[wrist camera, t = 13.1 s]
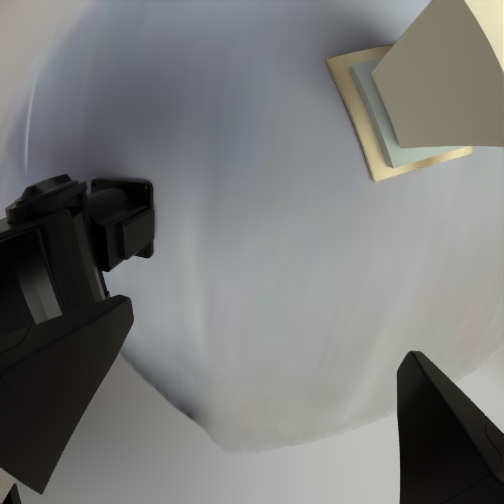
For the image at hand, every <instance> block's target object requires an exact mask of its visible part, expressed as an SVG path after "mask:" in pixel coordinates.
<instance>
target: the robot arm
mask: <svg viewBox="0 0 504 504" xmlns="http://www.w3.org/2000/svg"><path fill="white" fill-rule="evenodd" d="M96 183H97V186H96ZM145 186H146V187H147V188H148V191H146V190H145ZM86 189H87V184H86V181H83V182H78V180H77V181H73V180H71V179H70V177H69V176H68V175H67V174H63V175H59V176H56V177H52V178H49V179H46V180H43V181H40V182H38V183H36V184H33V185H31V186H29V187H27V188H26V189H25V191H24V193H23V194H22V196H21V197H20V198H19V199H17V200H16V201H15V202H14V203H12V204H11V205H9V206H8V207H7V208H6V209H5V211H6V216H7V217H6V218H4V219H1V220H0V504H21V501H20V497H19V493H18V489H17V485H16V484H15V481H16V479H17V480H19V481H20V482H21V483H23V484H25V485H26V486H28V487H29V488H31V489H32V490H34V491H36V492H37V493H39V494H41V495H42V494H43V492H44V490H45V488H46V486H47V483H48V481H49V479H50V477H51V475H52V473H53V471H54V469H55V467H56V465H57V463H58V461H59V459H60V457H61V455H62V452H63V451H64V449H65V447H66V445H67V443H68V441H69V439H70V437H71V435H72V434H73V432H74V430H75V428H76V426H77V424H78V422H79V421H80V419H81V417H82V415H83V413H84V412H85V410H86V408H87V406H88V404H89V403H90V401H91V399H92V398H93V396H94V394H95V393H96V391H97V389H98V387H99V386H100V384H101V382H102V381H103V379H104V377H105V376H106V374H107V373H108V371H109V369H110V367H111V366H112V364H113V363H114V361H115V359H116V357H117V355H118V353H119V351H120V349H121V347H122V345H123V343H124V341H125V339H126V337H127V335H128V333H129V331H130V329H131V327H132V324H133V321H134V315H133V309H132V302H131V299H130V298H129V297H126V296H123V295H116V296H113V297H110V293H109V291H107V288H106V284H105V281H104V277H103V273H102V271H105V272H109V271H111V270H112V269H113V268H114V267H116V266H117V265H118V264H120V263H121V262H122V261H123V260H128V259H129V258H131V257H132V256H133V255H134V256H139V257H143V258H150V257H151V256H152V255H153V240H154V210H153V186H152V184H151V183H149V182H141V181H129V180H116V179H100V178H97V179H93V180H92V182H91V194H88V195H86ZM146 250H147V251H148V252H149V254H148V253H147V252H146ZM397 417H398V430H399V446H400V504H504V433H502V432H501V431H500V430H499V429H498V428H497V426H495V425H494V423H493V422H492V421H491V420H490V419H489V418H488V417H487V416H485V414H484V413H483V412H482V411H481V410H480V409H479V408H478V407H477V406H476V405H475V404H474V403H473V402H472V401H471V400H470V399H469V398H468V397H467V396H466V395H465V394H464V393H463V392H462V391H461V390H460V389H459V388H458V387H457V386H456V385H455V384H454V383H453V382H452V381H451V380H450V379H449V378H448V377H447V376H446V375H445V374H444V373H443V372H442V371H441V370H440V369H439V368H438V367H437V366H436V365H435V364H434V363H433V362H432V361H430V360H429V359H428V358H427V357H426V356H425V355H424V354H423V353H422V352H420V351H409V352H408V353H407V355H406V356H405V358H404V360H403V361H402V363H401V365H400V366H399V368H398V371H397Z"/></svg>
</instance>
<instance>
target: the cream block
mask: <svg viewBox="0 0 504 504" xmlns="http://www.w3.org/2000/svg"><path fill="white" fill-rule="evenodd" d="M371 76H372V78H373V80H374V82H375V84H376V87H377V89H378V91H379V93H380V96H381V98H382V100H383V103H384V105H385V107H386V110H387V112H388V115H389V118H390V120H391V123H392V125H393V128H394V131H395V134H396V137H397V139H398V142H399V145H400V148H401V149H403V148H418V147H440V146H497V147H504V0H432V1H431V2H430V3H429V4H428V5H427V7H426V8H425V9H424V10H423V11H422V12H421V14H420V15H419V16H418V17H417V18H416V20H415V21H414V22H413V23H412V24H411V25H410V27H409V28H408V29H407V30H406V31H405V33H404V34H403V35H402V36H401V37H400V39H399V40H398V41H397V42H396V43H395V45H394V46H393V47H392V48H391V49H390V51H389V52H388V53H387V54H386V55H385V57H384V58H383V59H382V60H381V61H380V63H379V64H378V65H377V66H376V68H375V69H374V70H373V71H372V72H371Z"/></svg>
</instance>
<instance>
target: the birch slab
mask: <svg viewBox="0 0 504 504" xmlns="http://www.w3.org/2000/svg"><path fill="white" fill-rule="evenodd" d="M393 46H394V45H389V46H383V47H377V48H372V49H367V50H362V51H357V52H353V53H348V54H344V55H340V56H336V57H333V58H329V59H326V63H327V65H328V67H329V69H330V71H331V73H332V75H333V78H334V80H335V82H336V84H337V86H338V88H339V91H340V93H341V95H342V97H343V100H344V102H345V104H346V107H347V109H348V112H349V114H350V117H351V119H352V122H353V124H354V127H355V129H356V132H357V135H358V137H359V140H360V143H361V146H362V149H363V152H364V155H365V157H366V160H367V164H368V167H369V170H370V173H371V176H372V179H373V181H374V182H376V181H380V180H383V179H386V178H389V177H393V176H396V175H399V174H402V173H406V172H409V171H412V170H416V169H419V168H422V167H426V166H429V165H433V164H436V163H440V162H443V161H447V160H450V159H454V158H457V157H461V156H464V155H468V154H472V153H473V148H472V146H467V147H464V148H460V149H457V150H453V151H450V152H446V153H443V154H440V155H436V156H433V157H430V158H426V159H423V160H420V161H417V162H413V163H410V164H407V165H404V166H401V167H397V168H394V169H393V168H390V167H387V165H386V162H385V159H384V156H383V153H382V150H381V147H380V144H379V142H378V139H377V136H376V133H375V131H374V128H373V125H372V123H371V120H370V118H369V115H368V113H367V110H366V108H365V106H364V103H363V101H362V99H361V96H360V94H359V92H358V90H357V88H356V85H355V83H354V81H353V79H352V77H351V75H350V73H349V71H348V70H349V69H350V67H351V66H352V65H354V64H358V63H362V62H366V61H370V60H375V59H379V58H384V57H385V55H386V54H387V53H388V52H389V51H390V49H391V48H392V47H393Z"/></svg>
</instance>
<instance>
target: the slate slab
mask: <svg viewBox="0 0 504 504" xmlns="http://www.w3.org/2000/svg"><path fill="white" fill-rule="evenodd" d="M382 59H383V58H379V59H375V60H370V61H366V62H362V63H358V64H354V65H352V66H351V67H350V69H349V70H348V71H349V73H350V75H351V77H352V79H353V81H354V83H355V85H356V88H357V90H358V92H359V94H360V96H361V99H362V101H363V103H364V106H365V108H366V110H367V113H368V115H369V118H370V120H371V123H372V125H373V128H374V131H375V133H376V136H377V139H378V142H379V144H380V147H381V150H382V153H383V156H384V159H385V162H386V165H387V167H390V168H393V169H394V168H397V167H401V166H404V165H407V164H410V163H413V162H417V161H420V160H423V159H426V158H430V157H433V156H436V155H440V154H443V153H446V152H450V151H453V150H457V149H460V148H464V147H467V146H440V147H418V148H403V149H401V148H400V145H399V142H398V139H397V137H396V134H395V131H394V128H393V125H392V123H391V120H390V118H389V115H388V112H387V110H386V107H385V105H384V103H383V100H382V98H381V96H380V93H379V91H378V89H377V87H376V84H375V82H374V80H373V78H372V76H371V72H372V71H373V70H374V69H375V68H376V66H377V65H378V64H379V63H380V61H381V60H382Z"/></svg>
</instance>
